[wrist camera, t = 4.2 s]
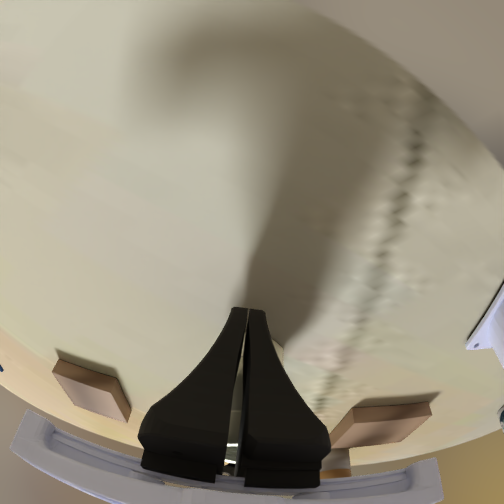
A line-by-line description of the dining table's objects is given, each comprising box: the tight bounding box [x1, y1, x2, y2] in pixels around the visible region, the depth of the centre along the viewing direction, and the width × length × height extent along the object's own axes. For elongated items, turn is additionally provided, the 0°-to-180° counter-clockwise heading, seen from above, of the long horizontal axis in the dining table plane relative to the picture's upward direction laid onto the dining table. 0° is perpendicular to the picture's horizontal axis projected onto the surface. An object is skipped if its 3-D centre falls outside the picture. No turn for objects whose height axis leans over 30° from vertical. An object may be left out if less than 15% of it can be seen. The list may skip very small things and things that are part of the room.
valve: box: [222, 332, 283, 476], centre depth 16 cm, size 7×7×12 cm
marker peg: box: [320, 448, 351, 479], centre depth 23 cm, size 4×4×8 cm
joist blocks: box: [52, 359, 432, 448], centre depth 21 cm, size 33×6×2 cm, turn 83°
